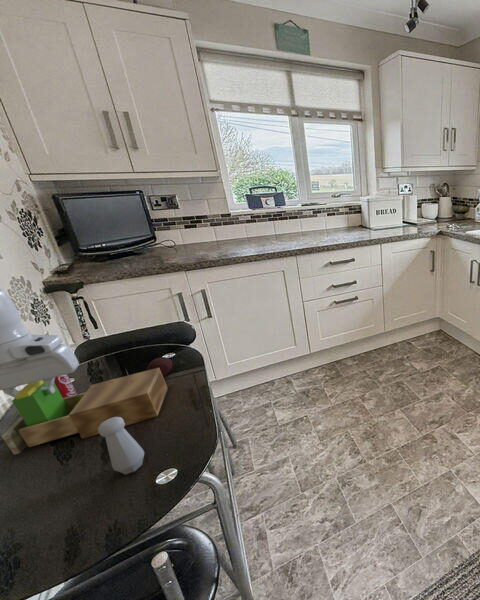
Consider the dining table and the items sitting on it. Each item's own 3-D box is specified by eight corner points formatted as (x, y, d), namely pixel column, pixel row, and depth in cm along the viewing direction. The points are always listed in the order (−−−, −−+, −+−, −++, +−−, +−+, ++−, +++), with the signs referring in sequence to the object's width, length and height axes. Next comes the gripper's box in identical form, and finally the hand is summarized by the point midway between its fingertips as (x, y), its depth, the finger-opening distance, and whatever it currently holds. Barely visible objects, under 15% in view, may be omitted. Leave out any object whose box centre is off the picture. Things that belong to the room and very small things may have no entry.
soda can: (76, 393, 106) (59, 361, 102) (81, 399, 102) (64, 367, 98) (46, 405, 101) (26, 372, 96) (50, 413, 97) (30, 379, 92)
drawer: (-10, 461, 79) (-23, 442, 77) (23, 426, 90) (12, 409, 88) (92, 431, 86) (82, 413, 84) (110, 402, 98) (102, 385, 96)
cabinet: (82, 438, 85) (68, 414, 82) (102, 406, 98) (91, 384, 95) (157, 416, 91) (147, 392, 88) (167, 388, 104) (159, 367, 101)
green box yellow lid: (35, 439, 83) (9, 397, 79) (53, 418, 91) (30, 379, 86) (56, 433, 85) (31, 392, 80) (71, 413, 92) (49, 374, 88)
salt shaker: (130, 456, 77) (108, 412, 73) (153, 455, 77) (132, 411, 72) (109, 478, 72) (84, 432, 67) (134, 477, 72) (110, 430, 67)
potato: (177, 366, 117) (171, 351, 115) (172, 378, 109) (166, 363, 107) (153, 372, 114) (146, 357, 112) (145, 385, 106) (138, 369, 104)
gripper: (-61, 368, 73) (-27, 418, 78) (56, 343, 80) (81, 390, 85) (-40, 356, 78) (-9, 403, 83) (68, 334, 86) (90, 378, 91)
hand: (37, 396), depth 84 cm, fingers closed on green box yellow lid, 4 cm apart
